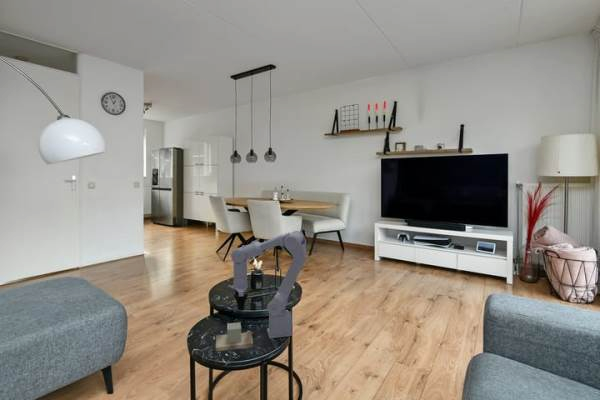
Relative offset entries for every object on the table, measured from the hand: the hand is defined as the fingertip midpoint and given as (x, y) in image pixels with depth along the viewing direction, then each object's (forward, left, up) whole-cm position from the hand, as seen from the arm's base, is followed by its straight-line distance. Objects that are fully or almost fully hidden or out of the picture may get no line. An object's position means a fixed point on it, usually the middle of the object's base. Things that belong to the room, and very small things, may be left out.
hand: (240, 306), depth 134 cm
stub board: (+3, +13, -9) cm, 16 cm away
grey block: (+3, +13, -8) cm, 15 cm away
